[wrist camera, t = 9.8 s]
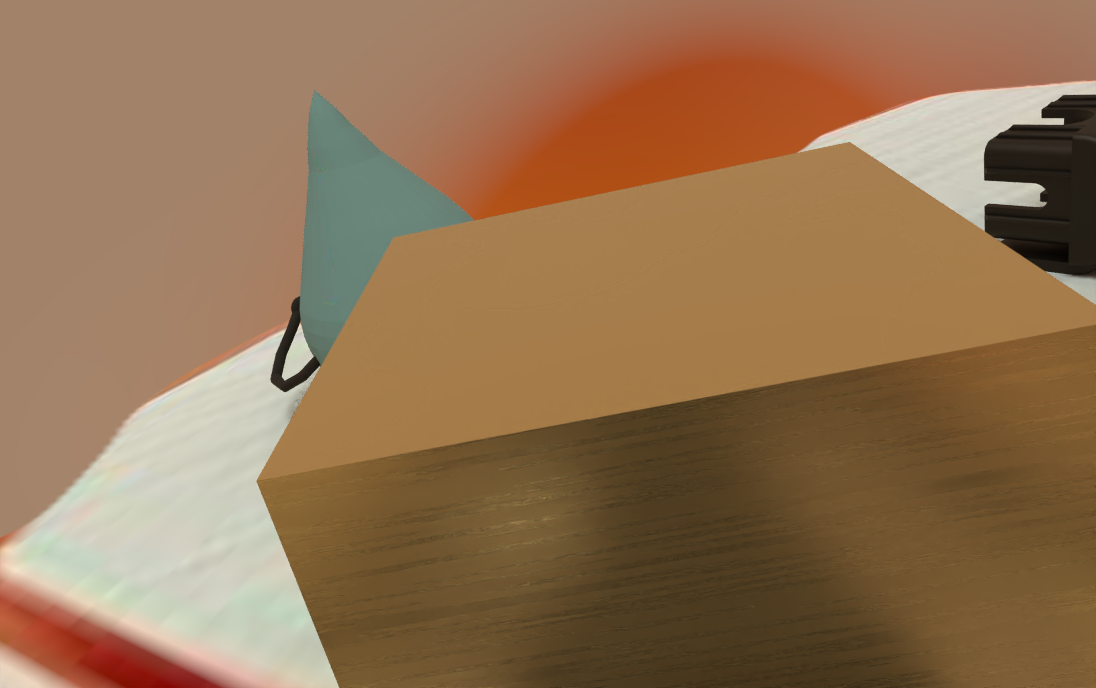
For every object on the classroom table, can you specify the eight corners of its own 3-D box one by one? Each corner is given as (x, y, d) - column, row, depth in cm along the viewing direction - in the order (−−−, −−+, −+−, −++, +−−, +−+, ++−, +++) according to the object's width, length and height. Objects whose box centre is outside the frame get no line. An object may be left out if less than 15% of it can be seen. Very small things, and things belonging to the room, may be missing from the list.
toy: (509, 300, 54) (447, 41, 48) (618, 353, 44) (557, 36, 38) (268, 398, 48) (162, 116, 42) (334, 482, 38) (209, 133, 32)
